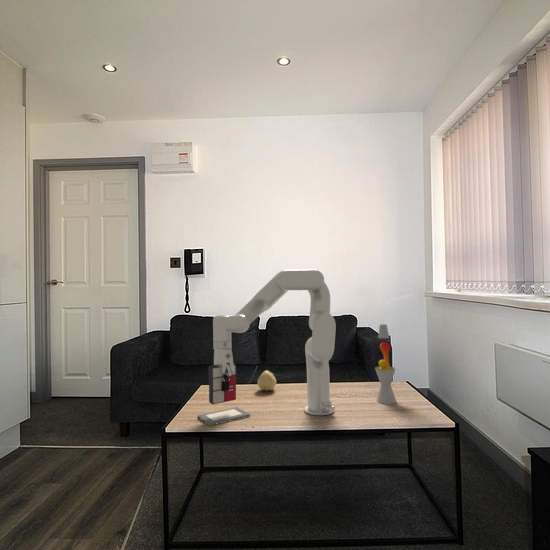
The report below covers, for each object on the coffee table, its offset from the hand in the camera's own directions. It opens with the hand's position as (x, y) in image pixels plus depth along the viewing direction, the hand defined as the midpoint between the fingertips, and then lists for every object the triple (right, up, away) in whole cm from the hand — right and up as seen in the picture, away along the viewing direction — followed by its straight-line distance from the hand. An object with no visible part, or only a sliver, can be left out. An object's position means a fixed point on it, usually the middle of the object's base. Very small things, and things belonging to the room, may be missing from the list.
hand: (223, 389), depth 153 cm
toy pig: (+18, -13, +39) cm, 45 cm away
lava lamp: (+72, -10, +15) cm, 75 cm away
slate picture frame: (0, -11, -1) cm, 11 cm away
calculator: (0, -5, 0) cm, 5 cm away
